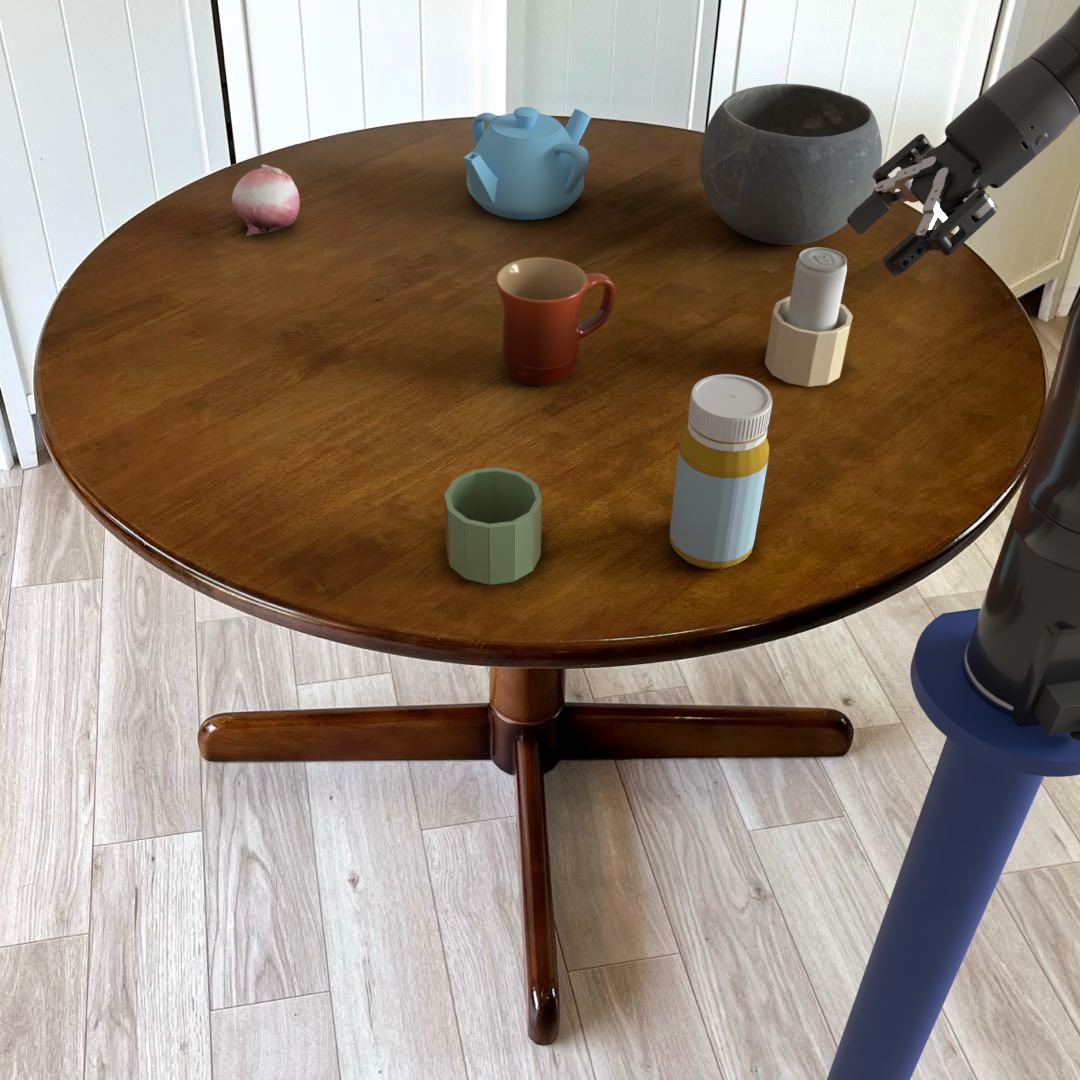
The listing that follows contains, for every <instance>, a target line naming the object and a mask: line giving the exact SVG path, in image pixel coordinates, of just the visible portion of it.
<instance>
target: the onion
mask: <svg viewBox="0 0 1080 1080" xmlns="http://www.w3.org/2000/svg"><path fill="white" fill-rule="evenodd" d="M297 187H298V186H297V185H296V184H295V182H294V180H293V178H292V177H291V175H289V174H288V173H286V171H284V170H282V169H281V168H278V167H274V166H270V165H267V164H264V163H262V164H261V165H260V167H259V168H256V169H253V170H251V171H249V172H247V173H246V174H244V175H243V176H242V177H241V178H240V179H239V180H238V182H237V183H236V185H235V186H234V188H233V190H232V191H233V192H232V196H231V203H232V206H233V209H235V210H236V212H237V214H238V215H239V216H240V217H241V218H242V219H243V220H244V222H245V223H246V225H247V228H248V230H247V231H246V236H247V237H248V236H251V235H257V234H267V233H272V232H276V231H279V230H281V229H282V228H286V227H290V226H291V225H293V224H294V223H295V221H296V220H297V217H298V214H299V211H300V204H301V203H300V202H301V201H300V195H299V190H298V188H297Z"/></svg>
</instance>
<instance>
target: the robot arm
mask: <svg viewBox="0 0 1080 1080" xmlns="http://www.w3.org/2000/svg"><path fill="white" fill-rule="evenodd" d="M1079 117H1080V4H1079V5H1078V7H1077V8H1076V9H1075V10H1074V12H1073V13H1072V14H1071V16H1070V17H1069V18H1068V19H1067V20H1066V22H1065V23H1064V24H1063V25H1062V26H1061V27H1060V28H1059V29H1058V30H1056V31H1055V32H1054V33H1053V34H1052V35H1051V36H1049V37H1048V38H1047V39H1046V40H1045V41H1044V42H1043V43H1042V44H1040V45H1039V46H1038V47H1037V48H1036V49H1035V50H1034V51H1032V53H1030V55H1029V56H1028V57H1026V58H1024V59H1023V60H1022V61H1021V62H1020V63H1018V64H1017V65H1016V66H1014V67H1012V68H1011V69H1009V70H1008V71H1007V72H1005V74H1003V75H1002V76H1001V77H1000V78H999V79H997V81H995V82H994V83H993V84H992V85H991V86H990V87H988V89H987V90H985V91H984V92H983V93H982V94H981V95H980V96H979V97H977V98H976V99H975V100H974V101H973V102H972V103H971V104H969V105H968V106H967V107H966V108H965V109H964V110H963V111H962V112H961V113H960V114H958V115H957V116H956V117H955V118H954V119H953V120H952V121H951V122H950V123H948V124H947V125H946V127H945V128H944V134H945V139H944V141H943V142H941V144H939V145H937V146H936V147H934V146H933V144H932V143H931V142H930V140H929V139H928V137H926V135H925V133H924V134H923V133H920V134H918V135H916V136H914V138H913V139H911V140H910V141H909V142H908V143H906V145H905V146H903V147H902V148H901V149H900V150H899V151H897V152H896V153H895V154H894V155H893V156H891V158H889V159H887V161H886V162H884V163H883V164H881V167H880V168H879V169H877V170H876V171H875V172H874V174H873V178H874V179H875V181H876V185H875V188H874V191H873V192H872V194H871V196H869V197H868V198H867V199H866V200H865V201H864V202H863V203H862V204H861V205H859V207H857V208H856V209H855V210H854V211H853V212H852V214H851V215H850V216H849V217H848V218H847V222H848V223H847V224H848V225H849V226H850V227H851V228H852V229H853V231H855V232H856V234H858V235H862V234H864V233H865V232H866V231H867V230H869V229H870V228H871V227H872V226H873V225H874V224H876V223H877V222H878V221H879V220H880V219H881V218H882V217H883V216H884V215H885V214H887V213H888V212H889V211H890V210H891V209H890V207H894V206H897V205H900V204H902V203H906V202H908V203H917V202H919V203H920V204H921V205H923V207H922V215H923V216H922V218H921V220H920V222H919V224H918V227H917V229H916V232H915V233H916V234H915V233H914V232H913V231H912V232H911V233H910V234H908V235H907V236H906V237H905V238H903V240H902V241H901V242H899V243H898V244H897V245H896V246H895V247H894V248H893V249H891V250H890V251H889V252H888V253H886V254H885V255H884V257H882V259H881V262H882V264H883V265H884V267H885V268H886V269H887V270H888V271H889V273H891V275H893V276H894V277H895V276H896V277H897V276H899V275H900V274H902V273H904V272H906V271H907V270H909V269H910V268H911V266H913V265H915V263H916V262H918V261H919V260H920V259H921V258H922V257H923V256H924V255H926V254H927V253H928V252H930V251H931V252H935V251H938V252H941V253H942V254H943V255H944V256H950V255H952V254H953V253H954V252H956V251H957V250H958V248H960V247H961V246H962V245H963V244H964V243H965V242H966V241H968V239H970V238H971V237H972V236H973V235H974V234H975V233H976V232H977V231H978V230H979V229H980V228H982V227H983V226H984V225H985V224H986V223H987V222H988V221H989V220H990V219H991V218H992V217H994V216H995V215H996V214H997V213H998V209H999V207H998V206H997V204H996V203H995V201H994V200H993V198H991V196H990V195H989V194H988V193H987V192H986V190H987V188H988V187H990V188H992V189H1000V188H1001V187H1003V186H1004V185H1005V184H1006V183H1007V182H1009V180H1011V179H1012V178H1013V177H1014V176H1015V175H1016V174H1018V173H1019V172H1020V171H1021V170H1023V168H1024V167H1026V166H1027V165H1028V164H1029V163H1030V162H1031V161H1032V160H1034V159H1035V158H1037V156H1038V155H1040V154H1041V153H1042V152H1043V151H1045V150H1046V148H1048V147H1049V146H1050V145H1051V144H1052V143H1053V142H1055V141H1056V140H1057V139H1058V138H1059V137H1060V136H1062V134H1063V133H1064V132H1065V131H1066V130H1068V128H1069V127H1070V126H1071V124H1073V122H1074V121H1075V120H1076V119H1077V118H1079ZM897 168H900V169H899V170H897V172H896V174H895V175H894V176H892V177H890V176H889V175H890V174H891V173H892V172H894V171H895V170H896V169H897ZM896 190H898V191H896ZM957 227H958V230H957V231H956V232H955V233H954V234H953V235H952V236H951V237H949V236H948V235H949V234H951V232H952V231H953V230H955V228H957ZM1060 345H1061V346H1060V349H1059V353H1058V357H1057V361H1056V365H1055V369H1054V373H1053V377H1052V379H1051V383H1050V386H1049V390H1048V394H1047V397H1046V401H1045V403H1044V407H1043V410H1042V414H1041V417H1040V420H1039V423H1038V428H1037V432H1036V437H1035V441H1034V442H1035V443H1034V445H1033V446H1034V447H1033V451H1032V456H1031V461H1030V464H1029V467H1028V470H1027V472H1026V476H1025V479H1024V482H1023V485H1022V488H1021V491H1020V493H1019V496H1018V499H1017V502H1016V505H1015V508H1014V511H1013V513H1012V515H1011V519H1010V522H1009V525H1008V528H1007V531H1006V534H1005V536H1004V540H1003V542H1002V545H1001V548H1000V550H999V551H1000V552H999V555H998V557H997V560H996V563H995V565H994V568H993V571H992V574H991V578H990V580H989V584H988V585H987V589H986V592H985V595H984V597H983V598H984V599H983V601H982V604H981V607H980V608H981V609H980V612H979V615H978V618H977V621H976V625H975V628H974V631H973V633H972V636H971V639H970V640H969V642H968V644H967V646H966V649H965V652H964V655H963V660H962V667H963V672H964V675H965V677H966V680H967V682H968V683H969V685H970V686H971V688H972V689H973V690H974V691H975V693H976V694H977V695H978V696H979V697H980V698H982V699H983V700H984V701H985V702H987V703H988V704H989V705H991V706H992V707H994V708H996V709H997V710H999V711H1001V712H1003V713H1005V714H1007V715H1009V716H1011V718H1012V719H1013V720H1014V721H1015V723H1016V724H1017V725H1018V726H1019V727H1027V726H1033V725H1040V724H1041V726H1042V727H1043V729H1044V730H1045V731H1046V733H1047V734H1048V736H1050V735H1057V734H1063V733H1069V732H1070V736H1071V737H1072V738H1074V739H1077V740H1079V741H1080V294H1078V297H1077V299H1076V300H1075V302H1074V304H1073V308H1072V310H1071V312H1070V315H1069V317H1068V322H1067V323H1066V328H1065V331H1064V335H1063V337H1062V341H1061V344H1060Z"/></svg>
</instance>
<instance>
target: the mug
mask: <svg viewBox="0 0 1080 1080" xmlns="http://www.w3.org/2000/svg"><path fill="white" fill-rule="evenodd" d="M495 285H496V287H497V290H498V291H497V292H498V293H499V297H500V300H501V303H502V309H503V320H502V321H503V323H502V348H501V352H502V356H503V363H504V367H505V370H506V372H507V374H508V375H510V377H512V378H513V379H515V380H517V381H518V382H520V383H522V384H525V385H529V386H535V387H545V386H552V385H556V384H559V383H560V382H562V381H564V380H566V379H568V378H569V377H570V376H571V375H572V374H573V372H574V370H575V367H576V364H577V362H578V355H579V341H580V340H581V339H584V338H586V337H588V336H591V334H593V333H594V332H596V331H597V330H599V329H600V328H601V327H602V326H603V325H604V324H605V323H606V322H607V320H608V319H609V317H610V315H611V313H612V311H613V308H614V304H615V301H616V286H615V284H614V282H613V280H612V279H611V278H610V277H609V276H608V275H606V274H604V273H602V272H601V273H600V272H595V273H586V272H585V271H584V270H583V269H582V268H581V267H580V266H578V265H577V264H575V263H573V262H570V261H567V260H563V259H559V258H553V257H543V256H538V257H537V256H536V257H525V258H521V259H517V260H514V261H511V262H509V263H507V264H505V265H503V267H501V268H500V269H499V270H498V271H497V273H496V275H495ZM601 285H602V286H603V294H602V298H601V299H602V300H601V303H600V306H599V308H598V310H597V311H596V313H595V314H594V315H593V316H592V317H590V318H588V319H587V320H583V321H579V315H580V307H581V303H582V300H583V298H584V295H585V294H587V293H588V292H589V291H590V290H592V289H593V288H594V287H596V286H601Z"/></svg>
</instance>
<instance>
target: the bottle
mask: <svg viewBox="0 0 1080 1080" xmlns="http://www.w3.org/2000/svg"><path fill="white" fill-rule="evenodd" d="M772 406H773V397H772V394H771V392H770V390H768V388H767V387H766V386H765V385H764V384H762V383H760V382H759V381H757V380H755V379H753V378H751V377H747V376H744V375H739V374H731V373H730V374H729V373H721V374H714V375H710V376H709V375H708V376H706V377H704V378H702V379H700V380H699V381H697V382H696V383H695V384H694V386H693V387H692V390H691V392H690V400H689V406H688V418H687V419H688V421H687V426H686V428H685V429H684V431H683V433H682V435H681V437H680V441H679V446H678V453H677V462H676V463H677V464H676V471H675V472H676V473H675V481H674V490H673V498H672V506H671V507H672V508H671V515H670V525H669V541H670V545H671V547H672V548H673V551H674V552H675V553H676V554H677V555H678V556H679V557H681V558H682V559H683V560H685V562H687V563H689V564H690V565H693V566H695V567H697V568H702V569H705V570H724V569H728V568H731V567H733V566H736V565H738V564H740V563H741V562H743V561H745V560H746V559H748V557H749V556H750V555H751V553H752V551H753V547H754V544H755V539H756V533H757V529H758V522H759V516H760V510H761V505H762V499H763V492H764V488H765V481H766V476H767V469H768V464H769V458H770V444H769V440H768V437H767V435H768V430H769V428H768V426H769V424H770V419H771V413H772Z"/></svg>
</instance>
